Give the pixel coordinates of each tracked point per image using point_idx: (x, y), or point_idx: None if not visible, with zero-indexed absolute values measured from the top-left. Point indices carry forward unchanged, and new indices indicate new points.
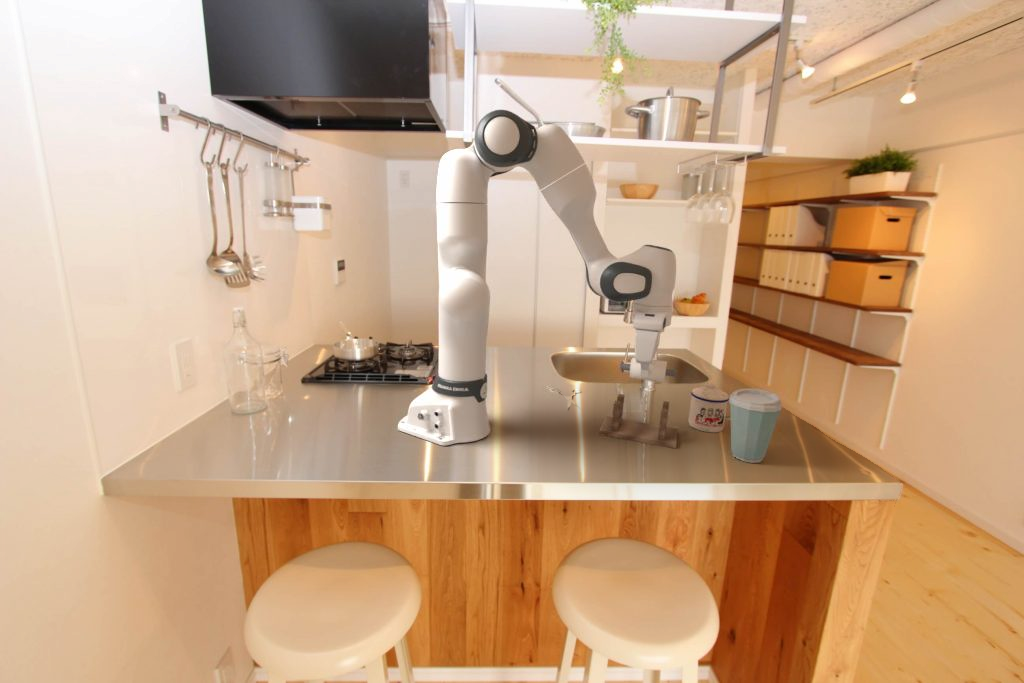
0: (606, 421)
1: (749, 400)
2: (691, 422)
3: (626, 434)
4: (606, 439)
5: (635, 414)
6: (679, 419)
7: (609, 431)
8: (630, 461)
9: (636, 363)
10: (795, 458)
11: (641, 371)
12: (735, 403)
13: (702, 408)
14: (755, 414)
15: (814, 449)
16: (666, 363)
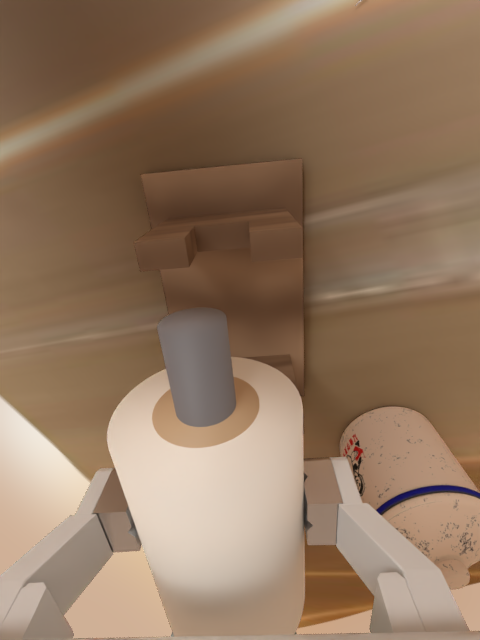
0: (243, 176)
1: None
2: (365, 422)
3: (167, 275)
4: (121, 214)
5: (407, 252)
6: (412, 382)
7: (154, 215)
8: (31, 314)
9: (129, 501)
10: None
11: (85, 500)
12: None
13: (362, 489)
14: None
15: (340, 584)
16: None
